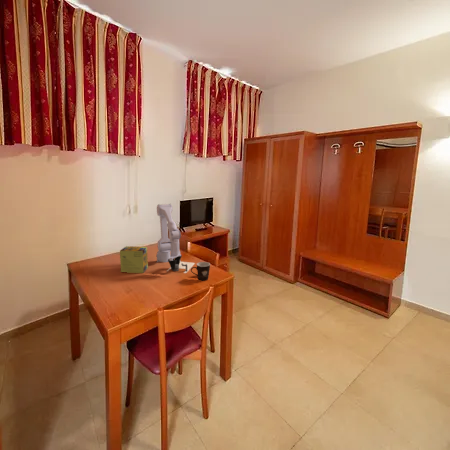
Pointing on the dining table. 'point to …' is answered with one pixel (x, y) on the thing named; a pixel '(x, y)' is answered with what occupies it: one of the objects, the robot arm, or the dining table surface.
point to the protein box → (133, 259)
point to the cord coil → (176, 267)
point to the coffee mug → (202, 270)
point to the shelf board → (184, 266)
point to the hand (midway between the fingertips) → (175, 267)
